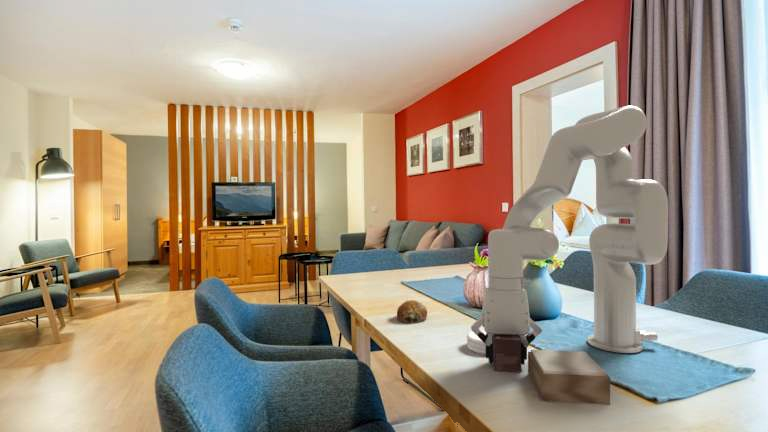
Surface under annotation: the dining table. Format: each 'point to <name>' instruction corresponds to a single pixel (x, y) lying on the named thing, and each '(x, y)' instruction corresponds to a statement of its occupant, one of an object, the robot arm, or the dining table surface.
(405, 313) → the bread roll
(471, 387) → the dining table surface
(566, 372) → the plinth
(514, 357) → the box
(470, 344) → the coaster
